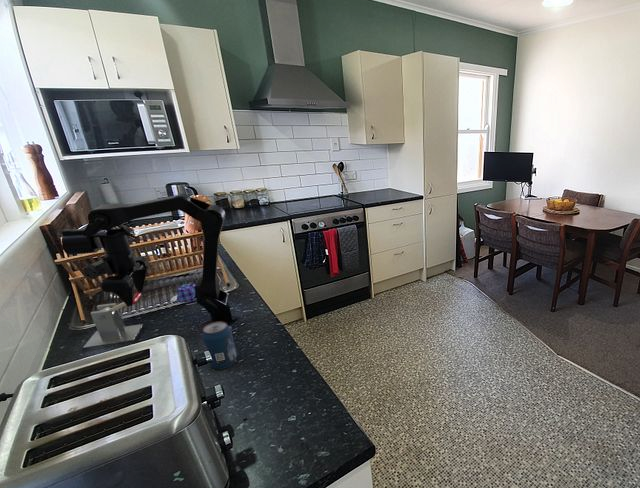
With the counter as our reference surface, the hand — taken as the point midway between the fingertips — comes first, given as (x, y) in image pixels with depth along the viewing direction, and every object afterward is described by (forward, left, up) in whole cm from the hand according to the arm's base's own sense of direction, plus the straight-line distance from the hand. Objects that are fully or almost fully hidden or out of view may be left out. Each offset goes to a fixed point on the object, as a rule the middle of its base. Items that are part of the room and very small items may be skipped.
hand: (135, 298), depth 104 cm
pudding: (+10, -20, -13) cm, 26 cm away
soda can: (-33, -1, -13) cm, 36 cm away
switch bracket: (+6, +6, -13) cm, 15 cm away
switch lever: (+3, +3, -3) cm, 5 cm away
